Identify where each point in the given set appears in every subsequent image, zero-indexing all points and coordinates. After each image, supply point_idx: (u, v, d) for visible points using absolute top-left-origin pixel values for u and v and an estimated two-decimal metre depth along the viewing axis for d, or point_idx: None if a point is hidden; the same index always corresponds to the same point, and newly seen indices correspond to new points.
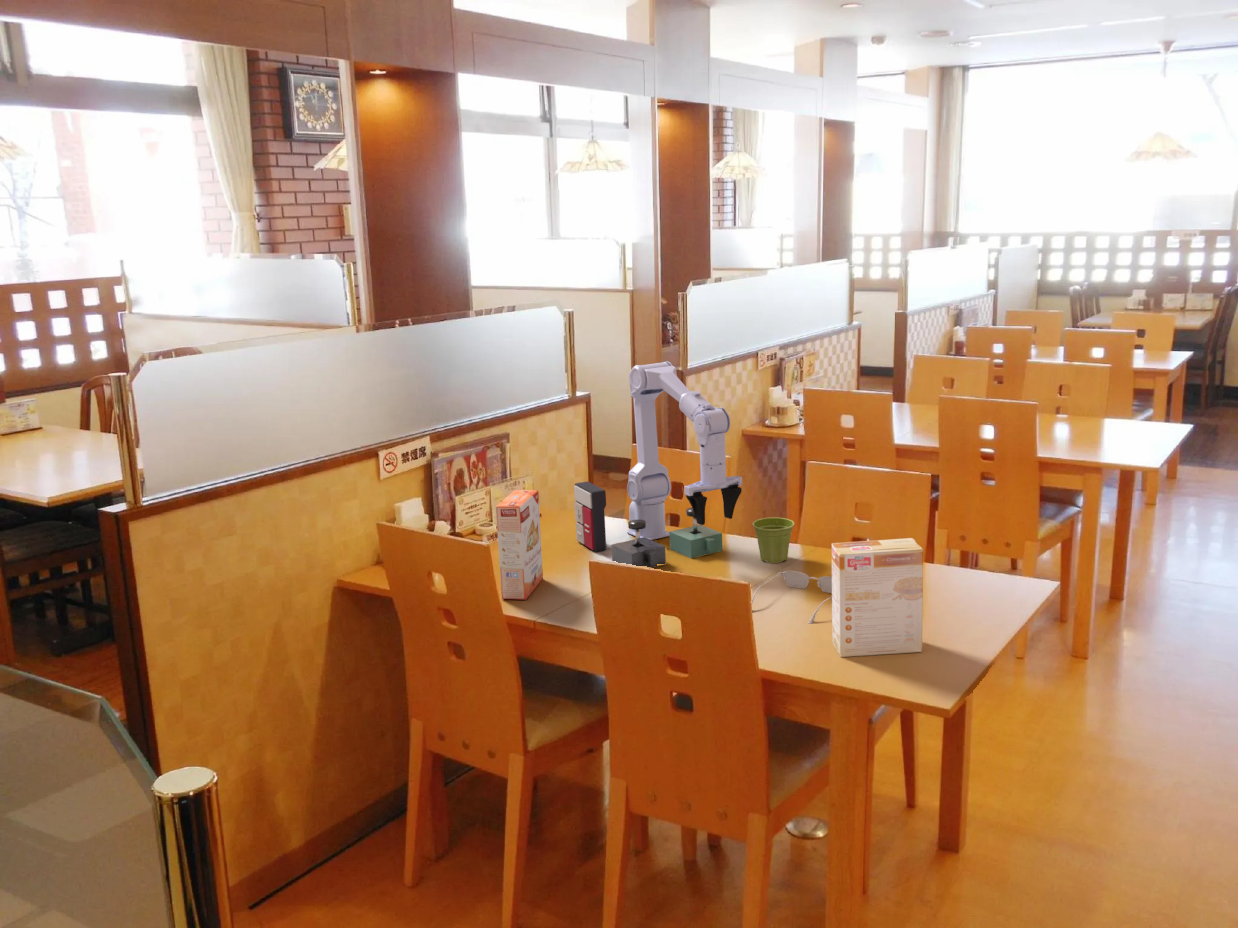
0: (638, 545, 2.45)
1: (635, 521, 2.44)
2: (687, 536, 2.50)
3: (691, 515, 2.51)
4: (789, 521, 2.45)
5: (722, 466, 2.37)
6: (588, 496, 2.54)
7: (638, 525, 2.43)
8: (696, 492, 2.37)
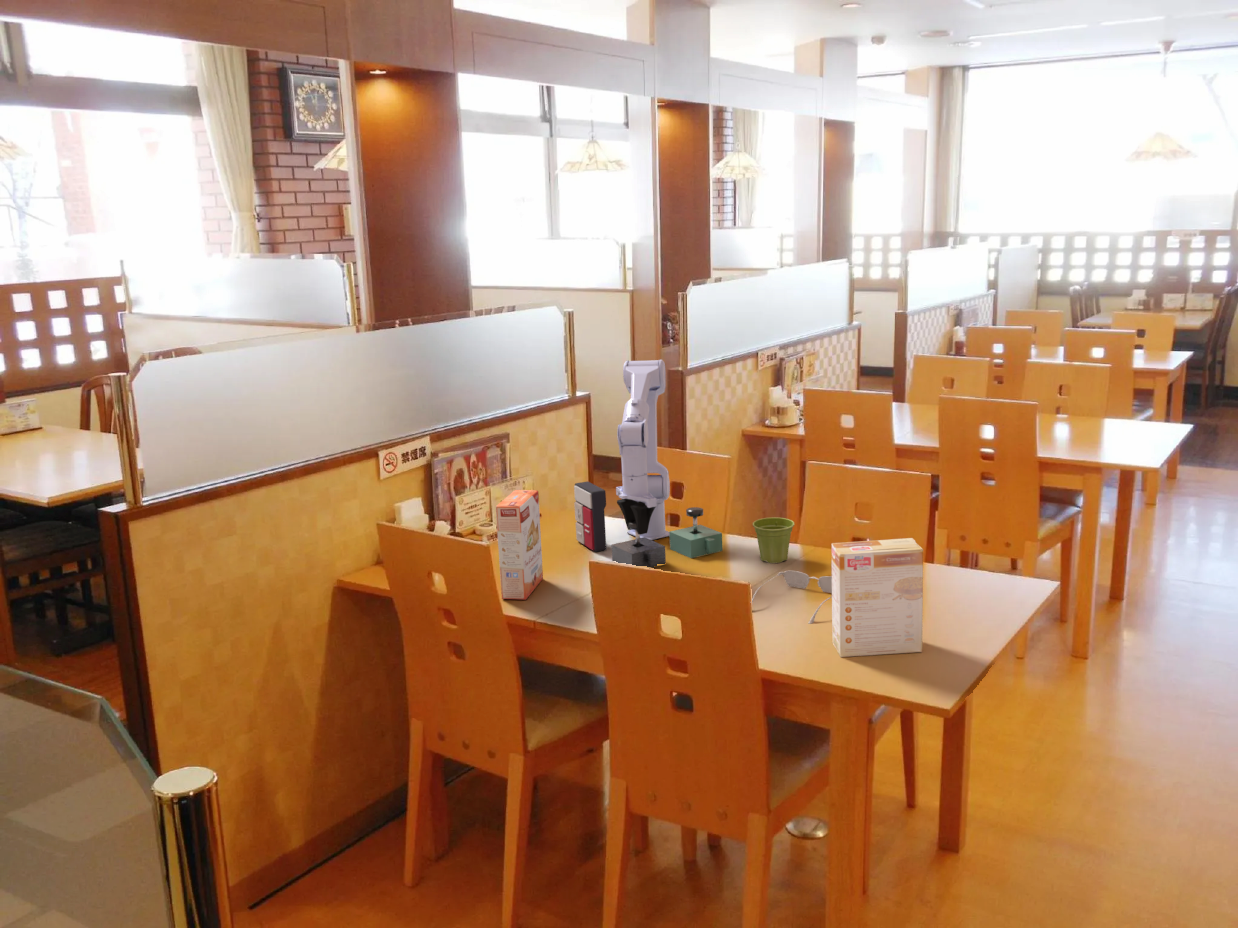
0: (638, 545, 2.45)
1: (635, 521, 2.44)
2: (687, 536, 2.50)
3: (691, 515, 2.51)
4: (789, 521, 2.45)
5: (625, 478, 2.40)
6: (588, 496, 2.54)
7: None
8: None
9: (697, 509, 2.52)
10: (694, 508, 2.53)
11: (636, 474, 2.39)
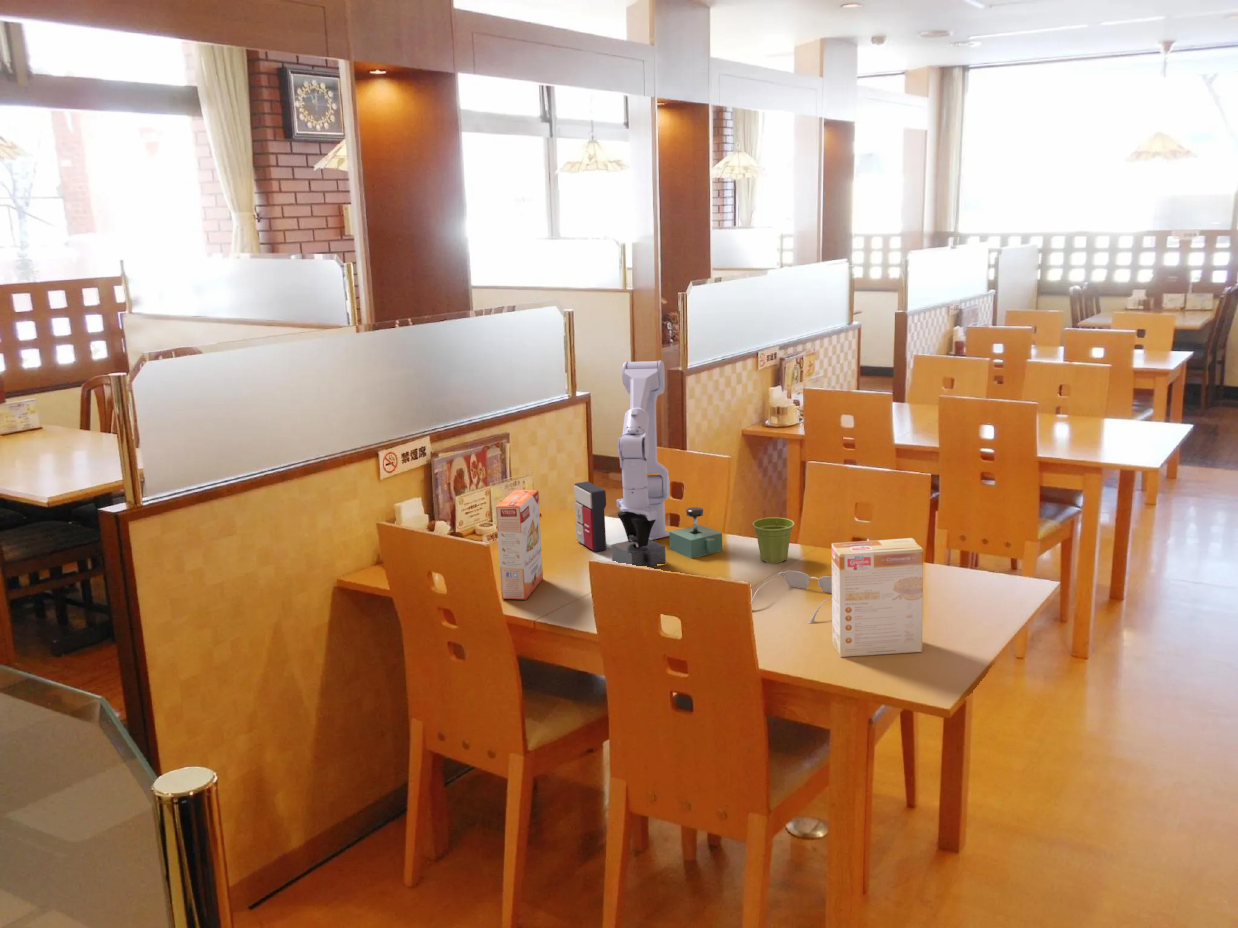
0: None
1: None
2: (687, 536, 2.50)
3: (691, 515, 2.51)
4: (789, 521, 2.45)
5: (626, 491, 2.41)
6: (588, 496, 2.54)
7: None
8: None
9: (697, 509, 2.52)
10: (694, 508, 2.53)
11: (637, 487, 2.40)
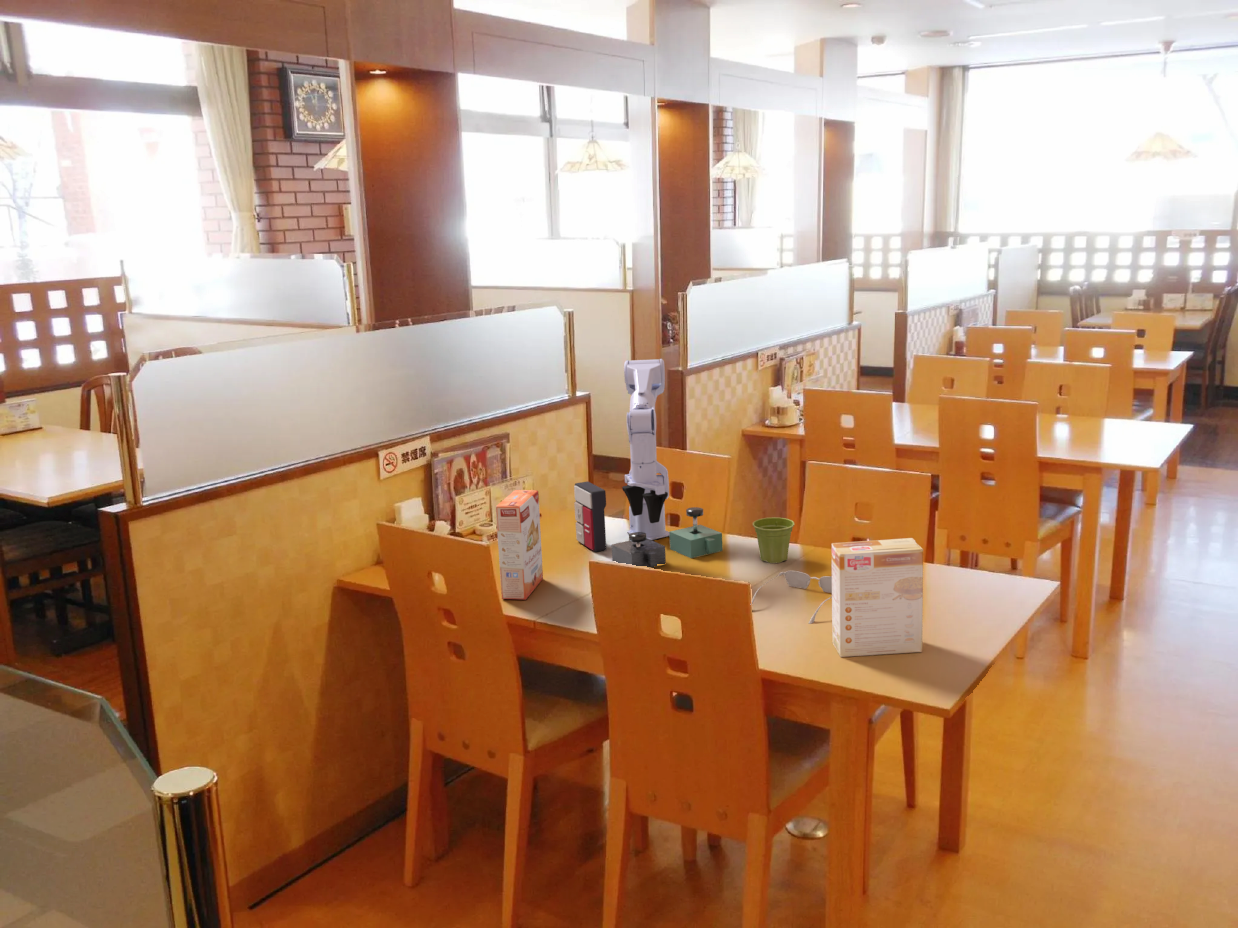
0: None
1: (636, 534, 2.45)
2: (687, 536, 2.50)
3: (691, 515, 2.51)
4: (789, 521, 2.45)
5: (634, 465, 2.41)
6: (588, 496, 2.54)
7: (639, 538, 2.43)
8: None
9: (697, 509, 2.52)
10: (694, 508, 2.53)
11: (646, 461, 2.40)
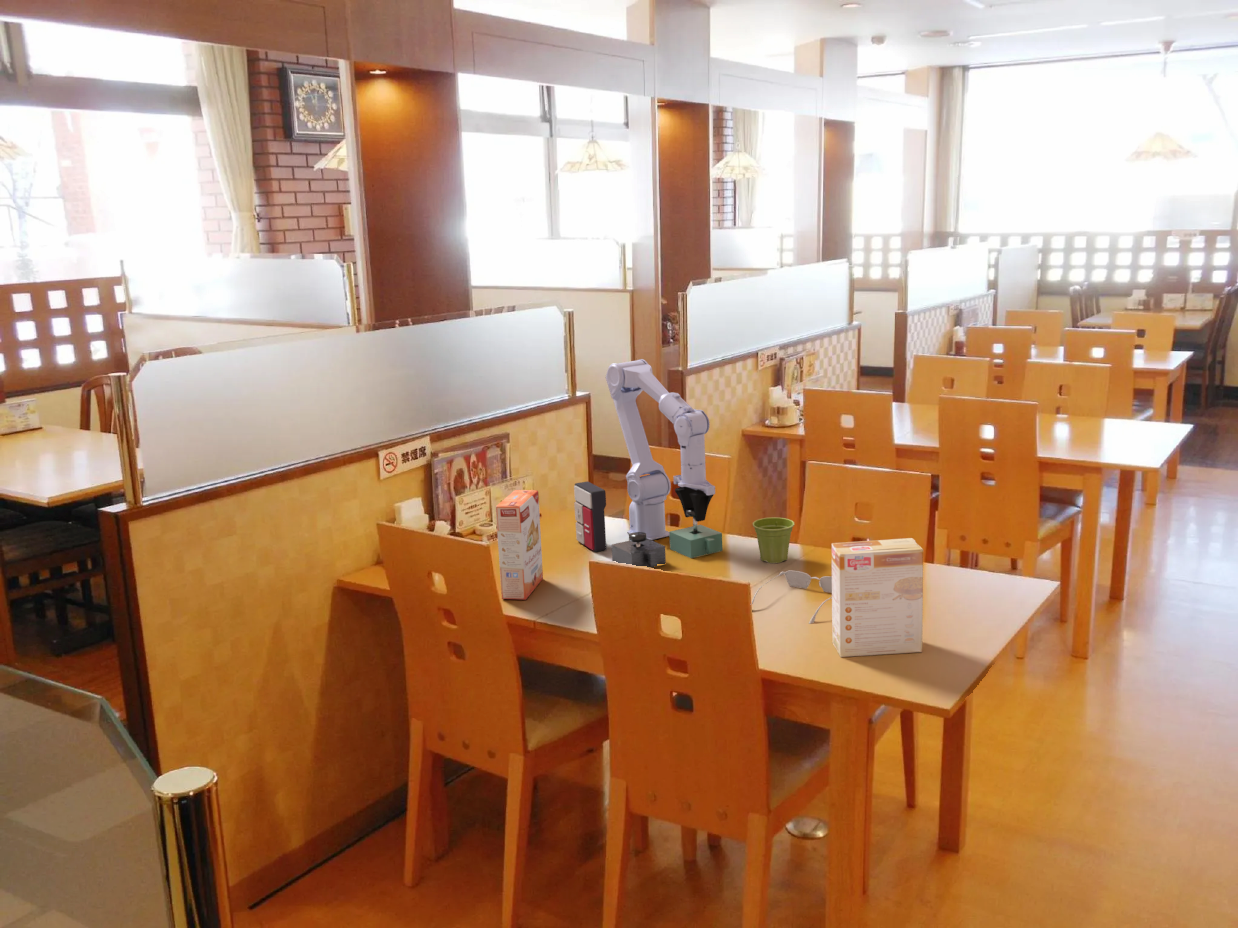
0: None
1: (636, 534, 2.45)
2: (687, 536, 2.50)
3: (691, 515, 2.51)
4: (789, 521, 2.45)
5: (684, 467, 2.48)
6: (588, 496, 2.54)
7: (639, 538, 2.43)
8: None
9: None
10: None
11: (703, 461, 2.48)
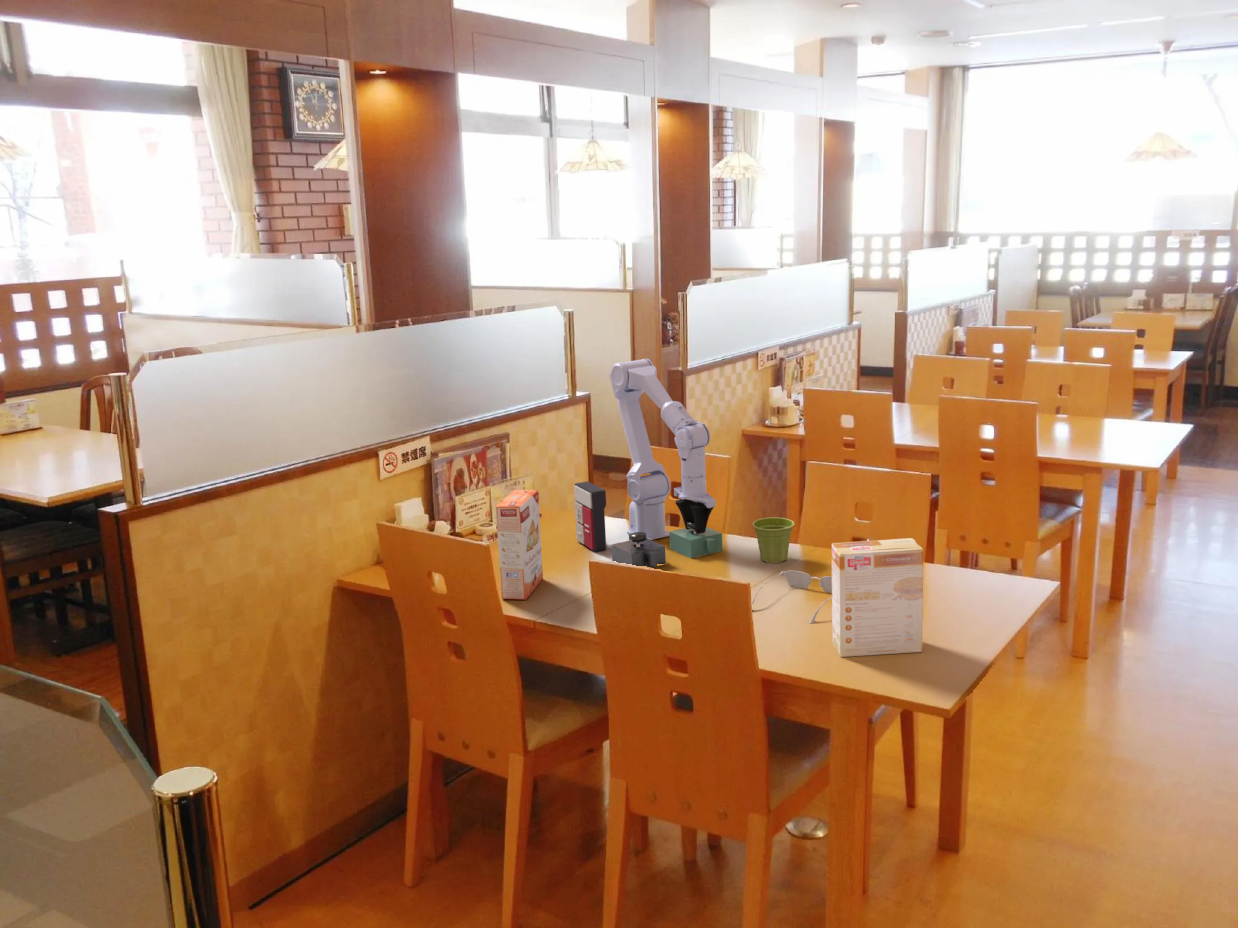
0: None
1: (636, 534, 2.45)
2: (687, 536, 2.50)
3: (691, 527, 2.51)
4: (789, 521, 2.45)
5: (685, 479, 2.48)
6: (588, 496, 2.54)
7: (639, 538, 2.43)
8: None
9: None
10: None
11: (703, 474, 2.48)
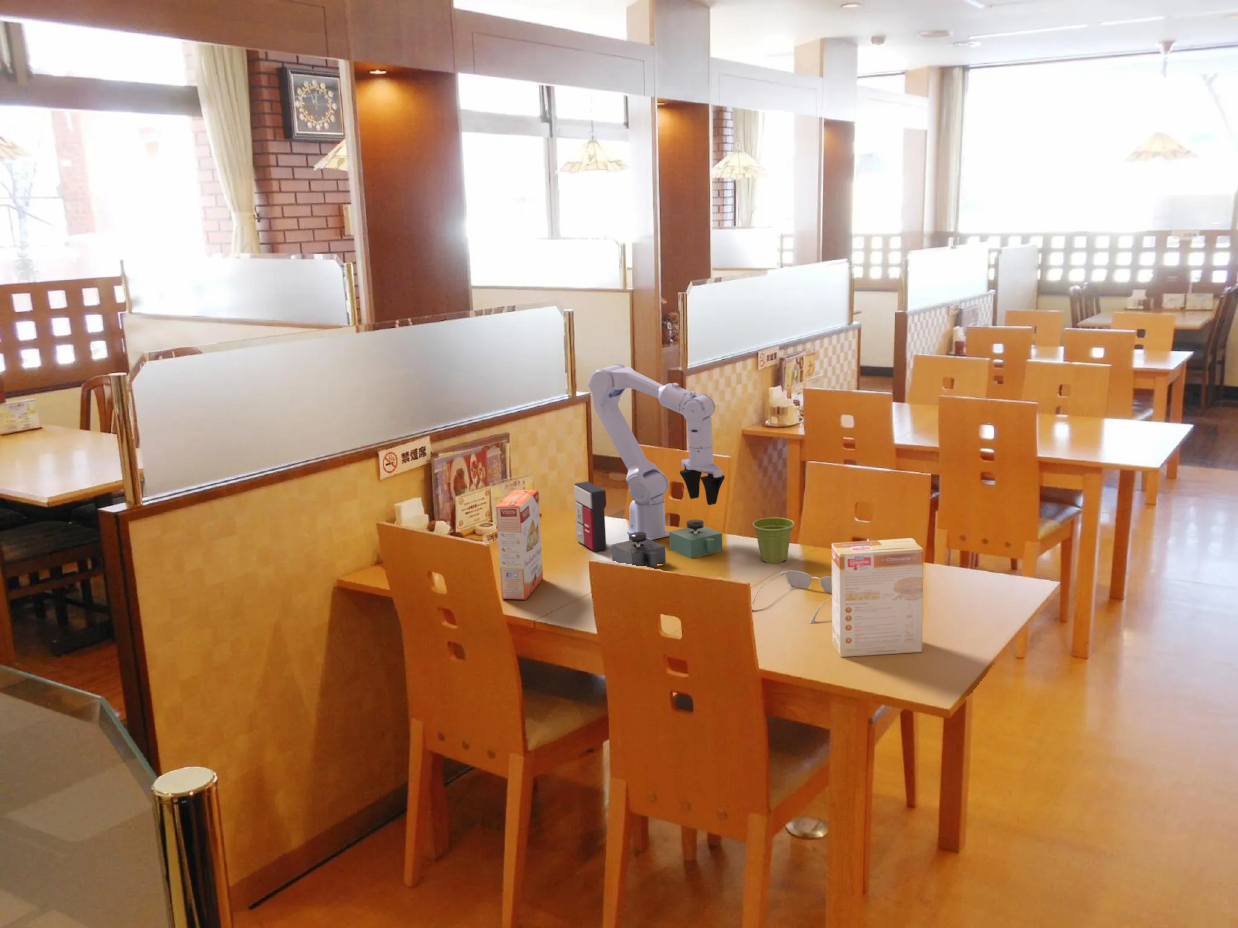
0: None
1: (636, 534, 2.45)
2: (687, 536, 2.50)
3: (691, 527, 2.51)
4: (789, 521, 2.45)
5: (692, 450, 2.53)
6: (588, 496, 2.54)
7: (639, 538, 2.43)
8: None
9: (697, 521, 2.53)
10: (694, 520, 2.54)
11: (712, 444, 2.54)
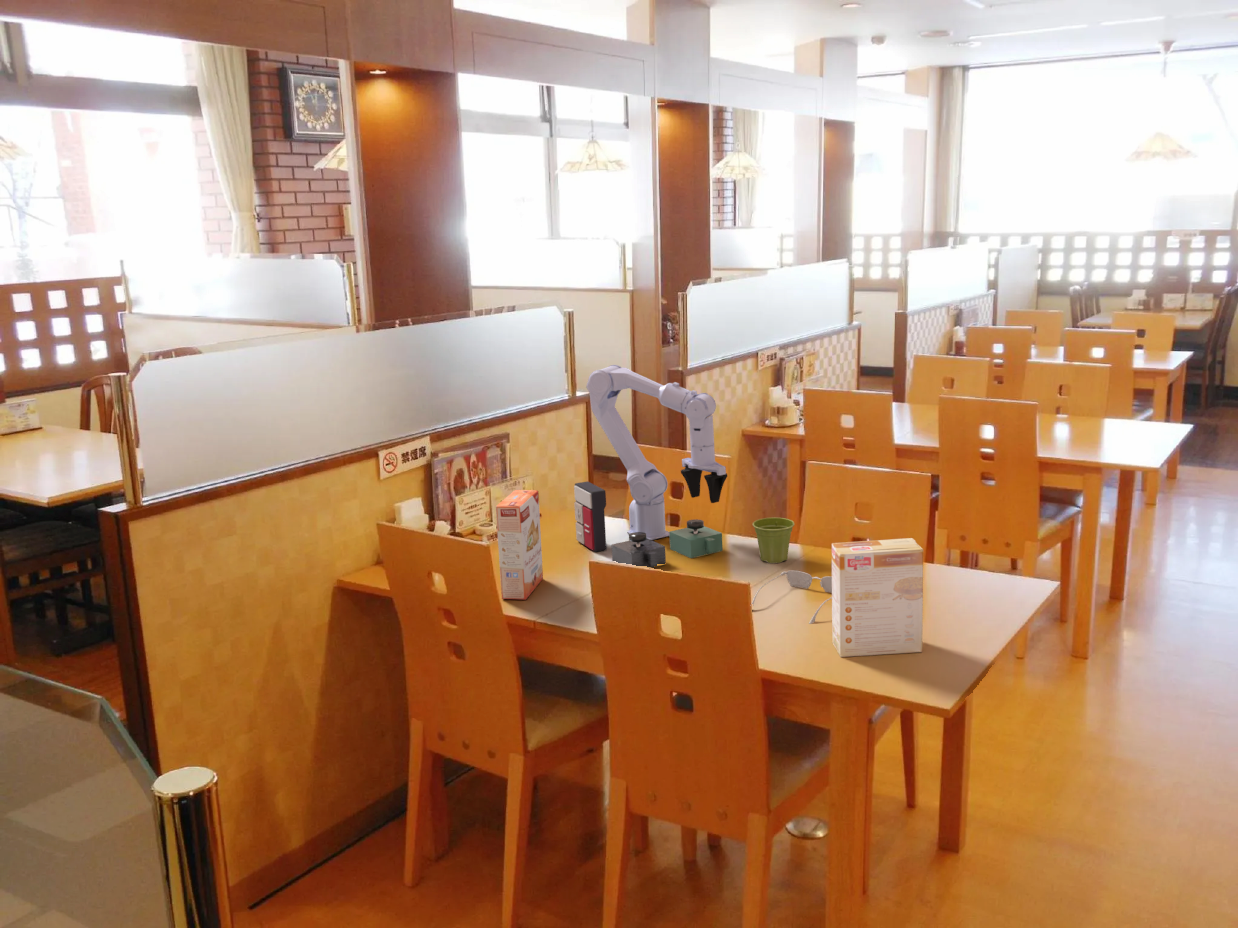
0: None
1: (636, 534, 2.45)
2: (687, 536, 2.50)
3: (691, 527, 2.51)
4: (789, 521, 2.45)
5: (694, 449, 2.54)
6: (588, 496, 2.54)
7: (639, 538, 2.43)
8: None
9: (697, 521, 2.53)
10: (694, 520, 2.54)
11: None
